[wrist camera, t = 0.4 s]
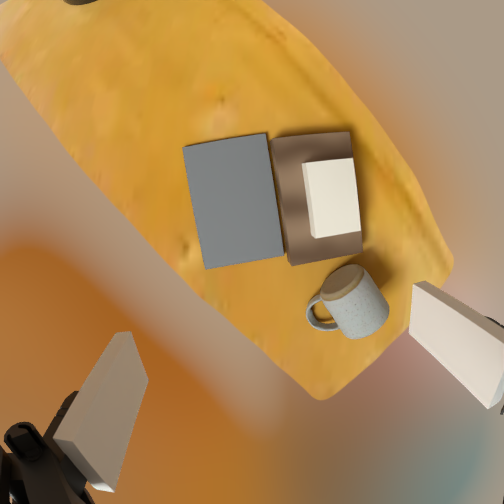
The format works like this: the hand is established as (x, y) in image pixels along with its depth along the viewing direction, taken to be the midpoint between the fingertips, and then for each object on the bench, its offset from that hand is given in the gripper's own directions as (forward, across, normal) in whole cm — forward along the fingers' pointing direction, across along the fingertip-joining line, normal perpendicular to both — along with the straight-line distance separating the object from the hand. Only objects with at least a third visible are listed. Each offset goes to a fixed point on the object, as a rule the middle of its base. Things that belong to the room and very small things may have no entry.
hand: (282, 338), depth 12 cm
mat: (+27, -1, +4) cm, 27 cm away
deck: (+27, +10, +3) cm, 29 cm away
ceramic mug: (+27, +12, -12) cm, 32 cm away
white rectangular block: (+24, +11, +3) cm, 27 cm away
